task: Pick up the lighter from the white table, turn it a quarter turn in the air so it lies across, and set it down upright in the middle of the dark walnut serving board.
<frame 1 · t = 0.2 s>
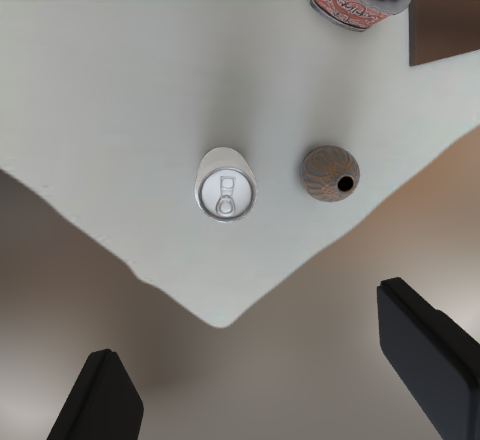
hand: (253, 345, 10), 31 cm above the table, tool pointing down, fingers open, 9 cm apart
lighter: (340, 8, 34), on the table
can: (223, 170, 39), on the table
vase: (318, 168, 40), on the table
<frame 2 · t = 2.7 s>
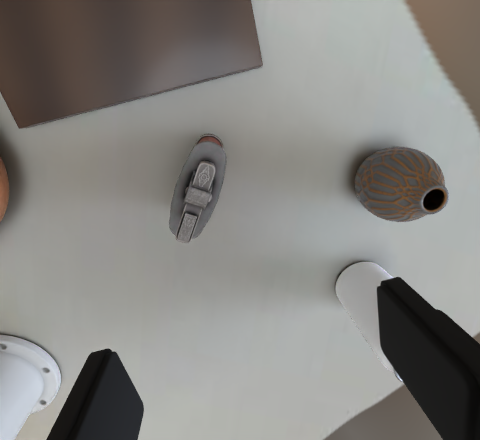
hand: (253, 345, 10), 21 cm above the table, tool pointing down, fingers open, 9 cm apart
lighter: (200, 173, 29), on the table
can: (358, 281, 36), on the table
vase: (375, 175, 31), on the table
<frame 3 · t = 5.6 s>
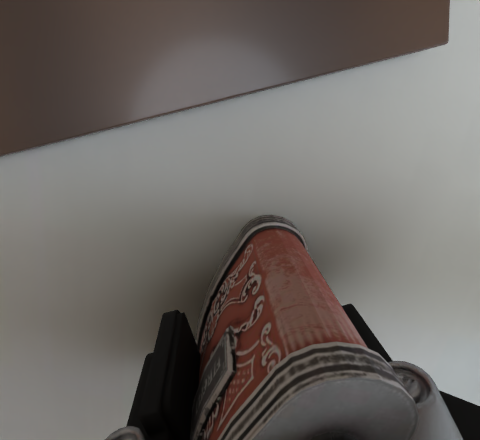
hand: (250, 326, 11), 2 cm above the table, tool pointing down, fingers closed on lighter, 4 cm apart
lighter: (244, 295, 13), on the table, touching gripper
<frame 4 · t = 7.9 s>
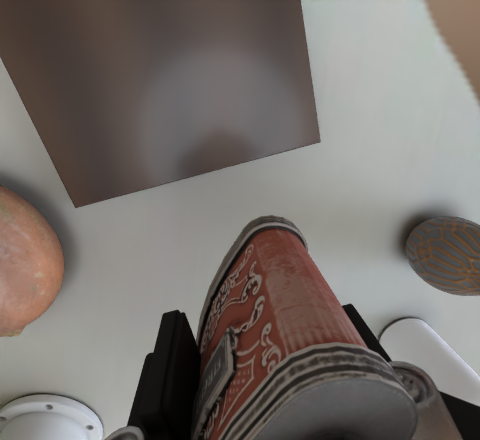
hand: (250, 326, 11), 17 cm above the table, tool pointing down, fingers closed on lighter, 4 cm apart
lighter: (245, 295, 13), point 15 cm above the table, touching gripper
walnut board: (168, 76, 23), on the table
can: (401, 336, 36), on the table
vase: (424, 237, 31), on the table
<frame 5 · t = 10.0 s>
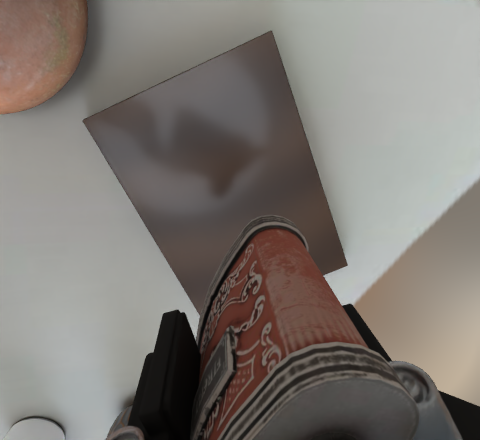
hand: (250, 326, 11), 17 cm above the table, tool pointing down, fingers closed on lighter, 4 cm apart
ceramic jug: (4, 2, 21), on the table
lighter: (245, 294, 13), point 15 cm above the table, touching gripper
walnut board: (231, 198, 27), on the table
can: (39, 431, 36), on the table
vase: (145, 410, 36), on the table
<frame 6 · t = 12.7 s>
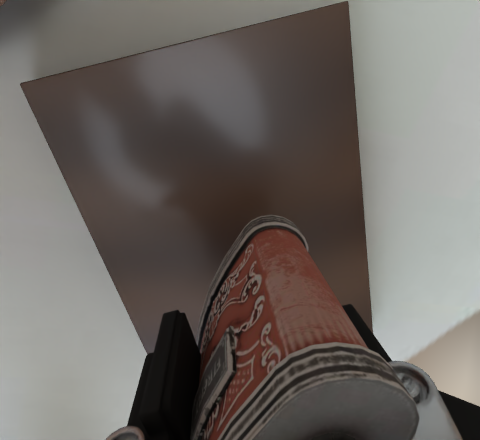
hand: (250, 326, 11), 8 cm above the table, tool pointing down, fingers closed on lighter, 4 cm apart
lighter: (245, 294, 13), point 6 cm above the table, touching gripper
walnut board: (235, 237, 19), on the table
when the fingers open (3 cm above the table, at t = 14.6 s): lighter stays where it is, resting on walnut board.
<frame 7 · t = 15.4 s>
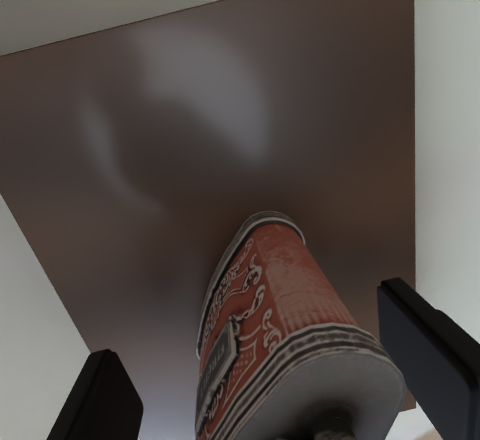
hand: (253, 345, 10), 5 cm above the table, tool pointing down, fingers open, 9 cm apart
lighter: (244, 288, 13), point 1 cm above the table, touching walnut board
walnut board: (243, 276, 14), on the table
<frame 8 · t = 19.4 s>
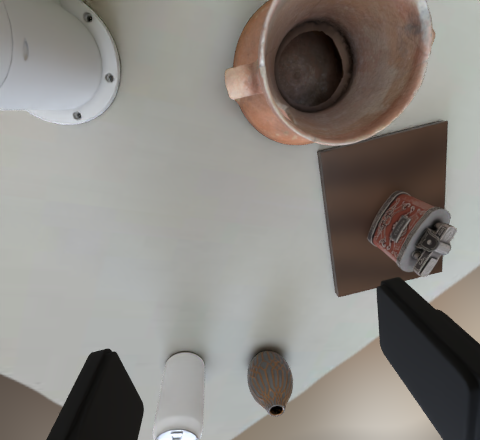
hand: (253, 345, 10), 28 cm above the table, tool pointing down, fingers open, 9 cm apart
ceramic jug: (298, 76, 33), on the table
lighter: (386, 217, 39), point 1 cm above the table, touching walnut board
walnut board: (382, 215, 40), on the table
can: (185, 364, 47), on the table
vase: (265, 358, 48), on the table
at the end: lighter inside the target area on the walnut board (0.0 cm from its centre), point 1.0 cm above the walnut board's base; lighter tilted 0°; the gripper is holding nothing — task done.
